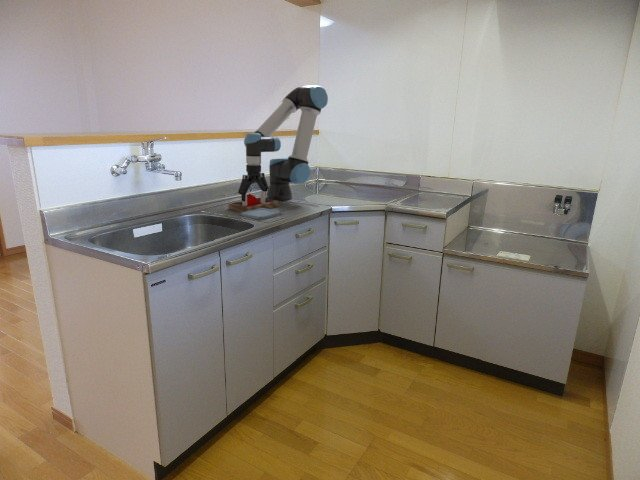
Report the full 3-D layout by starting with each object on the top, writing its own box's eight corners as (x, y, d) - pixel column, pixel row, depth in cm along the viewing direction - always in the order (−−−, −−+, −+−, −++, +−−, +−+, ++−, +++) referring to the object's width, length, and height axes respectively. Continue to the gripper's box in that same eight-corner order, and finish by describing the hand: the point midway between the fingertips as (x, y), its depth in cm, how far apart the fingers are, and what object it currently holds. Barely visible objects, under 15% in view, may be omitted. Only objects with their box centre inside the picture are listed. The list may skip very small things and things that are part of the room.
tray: (261, 210, 214) (261, 207, 213) (281, 214, 207) (281, 211, 206) (240, 215, 202) (240, 212, 202) (260, 220, 195) (260, 217, 195)
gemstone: (251, 210, 209) (261, 198, 215) (237, 201, 209) (247, 190, 215) (248, 221, 215) (258, 209, 222) (234, 212, 216) (244, 201, 222)
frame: (259, 202, 233) (259, 197, 232) (278, 206, 225) (278, 200, 224) (228, 209, 215) (228, 203, 214) (248, 213, 207) (248, 207, 206)
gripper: (264, 162, 225) (264, 200, 231) (230, 165, 206) (231, 207, 212) (275, 163, 221) (275, 202, 227) (241, 166, 201) (242, 210, 208)
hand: (254, 205), depth 219 cm, fingers open, 13 cm apart
